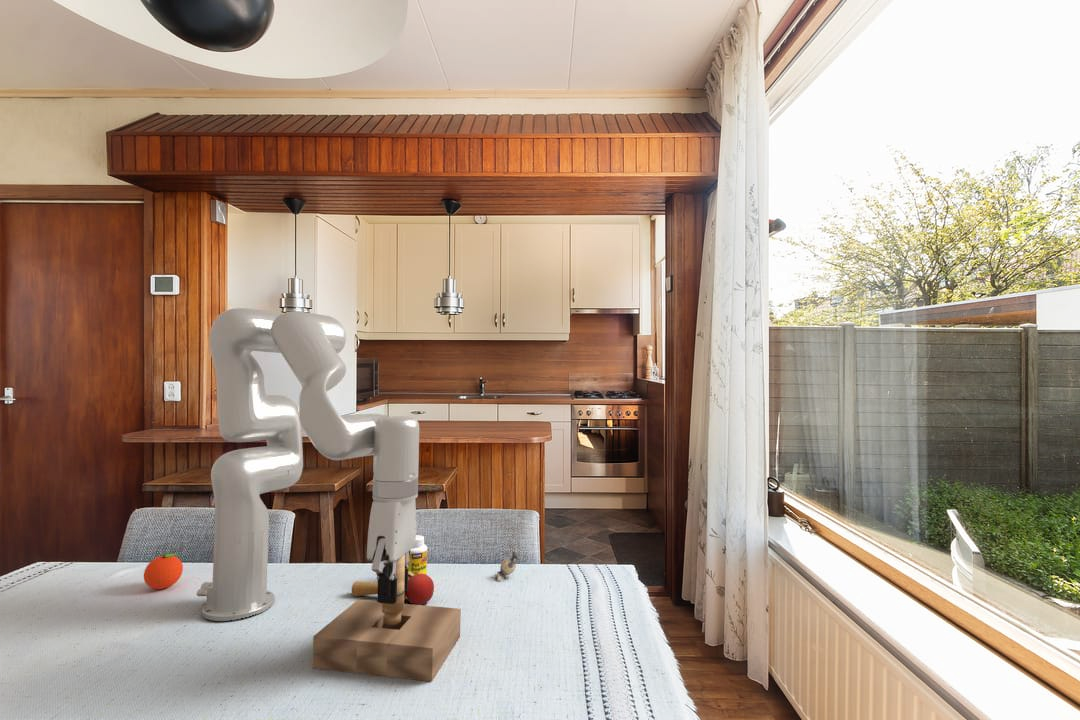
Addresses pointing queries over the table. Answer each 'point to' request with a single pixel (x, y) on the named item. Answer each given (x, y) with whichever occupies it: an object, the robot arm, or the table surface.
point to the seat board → (388, 641)
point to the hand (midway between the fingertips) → (392, 595)
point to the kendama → (416, 594)
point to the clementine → (163, 571)
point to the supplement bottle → (418, 557)
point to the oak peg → (394, 610)
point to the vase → (508, 566)
